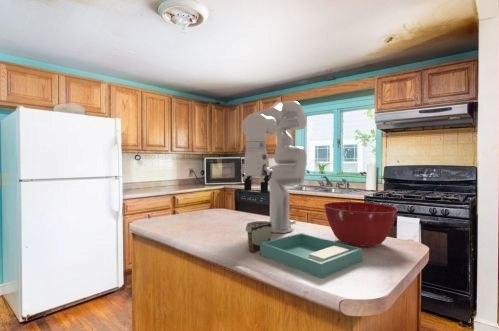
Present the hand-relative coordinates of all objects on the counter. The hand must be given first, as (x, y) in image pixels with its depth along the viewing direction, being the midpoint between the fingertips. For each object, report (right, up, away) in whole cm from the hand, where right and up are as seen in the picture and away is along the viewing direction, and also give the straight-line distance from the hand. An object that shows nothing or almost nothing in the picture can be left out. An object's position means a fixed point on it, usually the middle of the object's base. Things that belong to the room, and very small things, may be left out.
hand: (255, 191), depth 109 cm
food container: (0, -22, 0) cm, 22 cm away
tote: (+18, -22, -12) cm, 31 cm away
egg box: (+23, -21, -18) cm, 36 cm away
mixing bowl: (+43, -22, +8) cm, 49 cm away
